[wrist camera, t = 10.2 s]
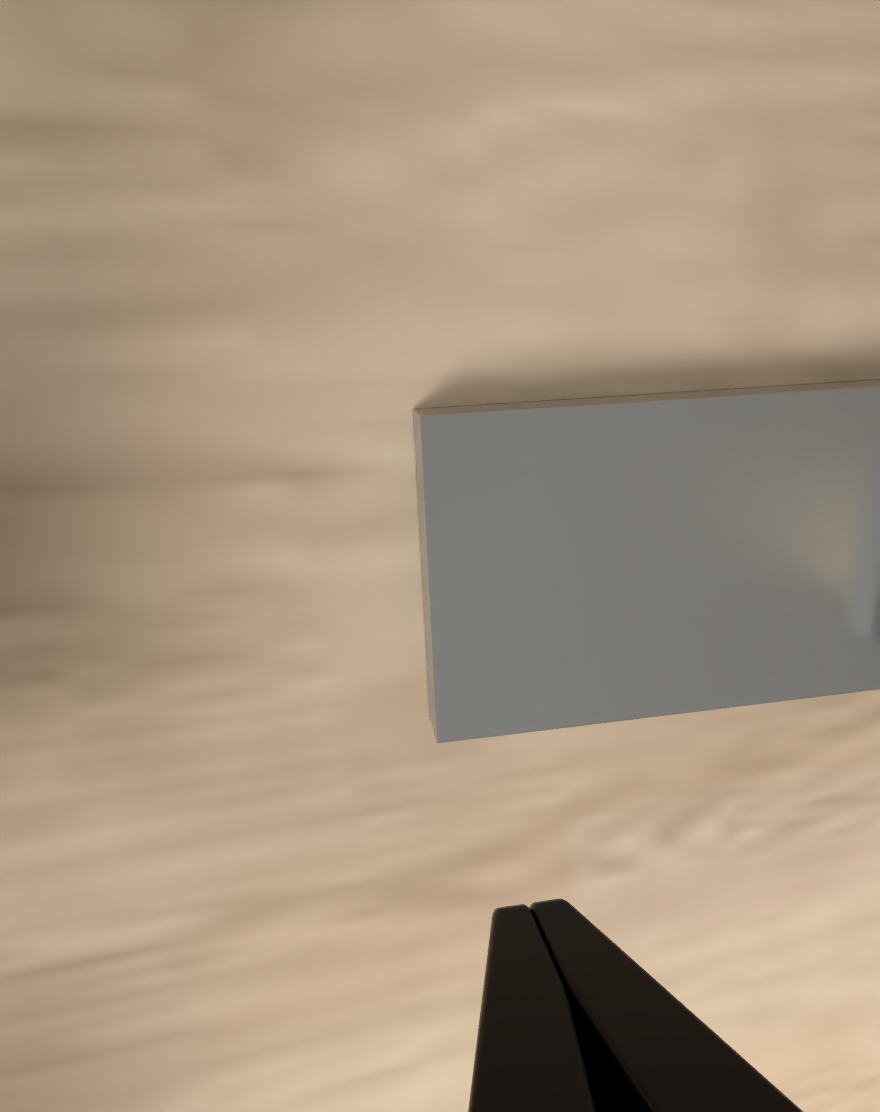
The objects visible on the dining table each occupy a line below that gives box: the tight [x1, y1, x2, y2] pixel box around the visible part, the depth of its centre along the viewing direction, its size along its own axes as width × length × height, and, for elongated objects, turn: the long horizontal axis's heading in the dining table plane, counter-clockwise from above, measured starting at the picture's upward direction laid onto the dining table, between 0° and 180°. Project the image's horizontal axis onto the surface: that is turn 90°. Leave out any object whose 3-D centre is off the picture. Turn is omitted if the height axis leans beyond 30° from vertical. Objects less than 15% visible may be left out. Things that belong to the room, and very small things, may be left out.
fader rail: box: [413, 380, 880, 743], centre depth 21 cm, size 20×9×4 cm, turn 92°
